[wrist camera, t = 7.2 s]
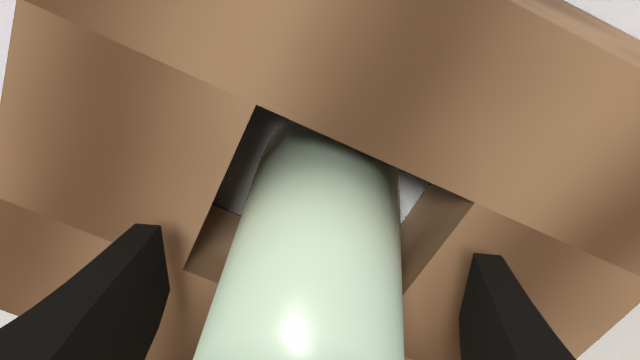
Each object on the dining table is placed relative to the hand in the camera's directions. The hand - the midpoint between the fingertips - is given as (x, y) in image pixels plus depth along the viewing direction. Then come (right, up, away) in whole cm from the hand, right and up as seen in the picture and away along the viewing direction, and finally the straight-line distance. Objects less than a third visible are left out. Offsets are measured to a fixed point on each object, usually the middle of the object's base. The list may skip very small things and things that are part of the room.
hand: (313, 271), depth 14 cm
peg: (0, +2, +3) cm, 4 cm away
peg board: (0, +2, +3) cm, 4 cm away
